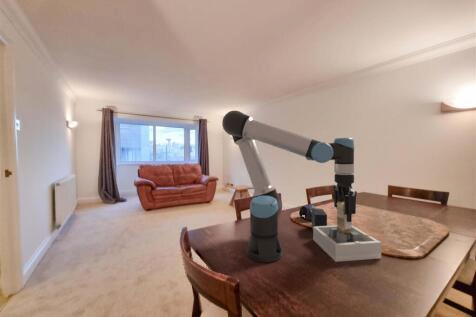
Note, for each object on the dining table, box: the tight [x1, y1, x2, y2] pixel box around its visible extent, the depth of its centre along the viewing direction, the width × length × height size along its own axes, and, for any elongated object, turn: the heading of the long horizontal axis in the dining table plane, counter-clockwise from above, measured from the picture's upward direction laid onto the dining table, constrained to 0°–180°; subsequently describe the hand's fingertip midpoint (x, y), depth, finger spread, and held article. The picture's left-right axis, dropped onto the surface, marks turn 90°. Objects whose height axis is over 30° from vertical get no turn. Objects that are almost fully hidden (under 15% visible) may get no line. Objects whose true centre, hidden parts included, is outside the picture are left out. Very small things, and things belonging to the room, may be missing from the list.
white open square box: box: [312, 224, 382, 263], centre depth 88 cm, size 19×19×7 cm
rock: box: [298, 203, 317, 221], centre depth 125 cm, size 11×10×10 cm
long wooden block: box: [336, 201, 353, 240], centre depth 88 cm, size 6×6×15 cm
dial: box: [328, 227, 361, 243], centre depth 88 cm, size 13×14×6 cm
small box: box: [311, 208, 328, 230], centre depth 108 cm, size 11×6×10 cm, turn 168°
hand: (344, 226), depth 88 cm, fingers closed on long wooden block, 4 cm apart
